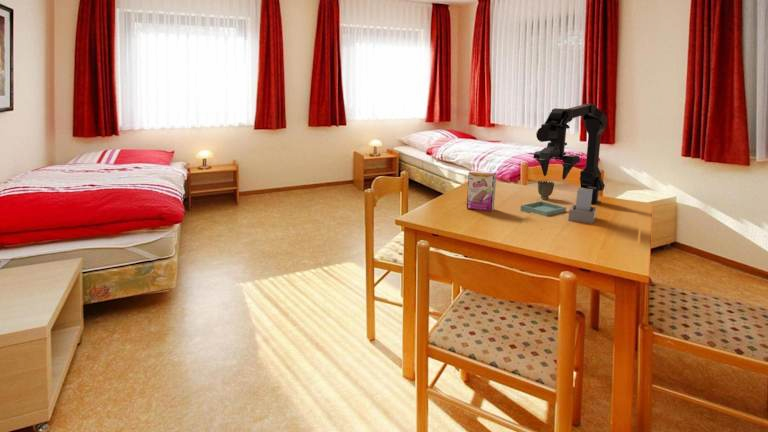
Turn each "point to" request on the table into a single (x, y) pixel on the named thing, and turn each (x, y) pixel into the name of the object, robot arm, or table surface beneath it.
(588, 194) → the block
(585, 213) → the holder
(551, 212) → the tray
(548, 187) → the cup
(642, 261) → the table surface
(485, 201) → the candy bar box
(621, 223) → the table surface
